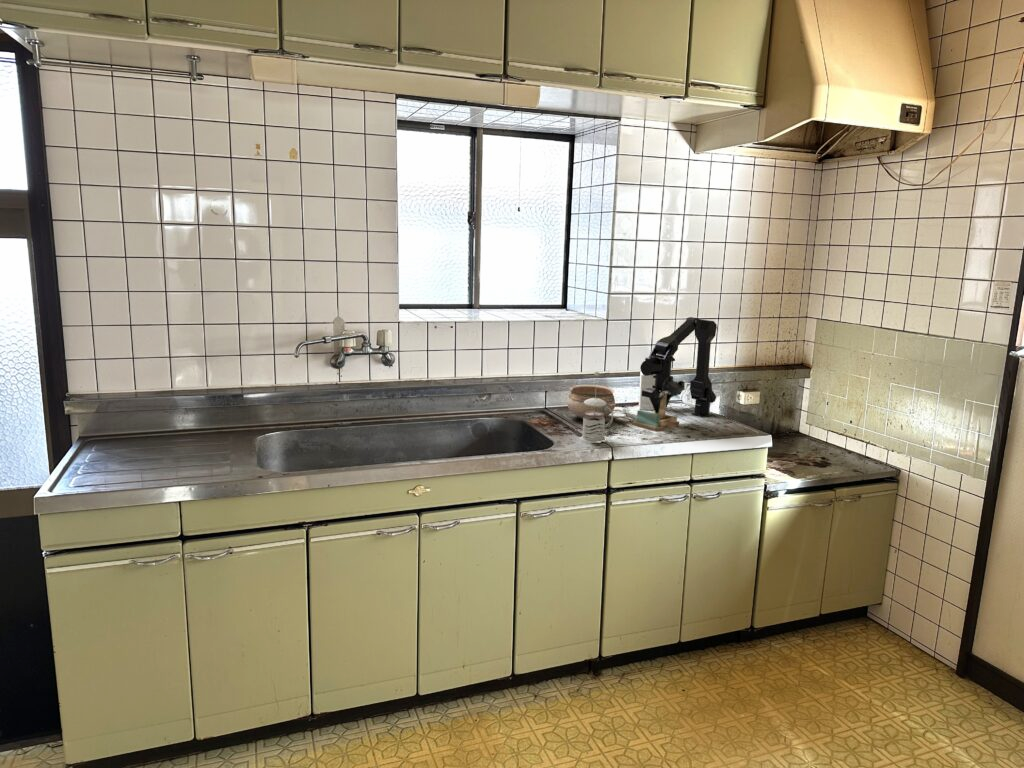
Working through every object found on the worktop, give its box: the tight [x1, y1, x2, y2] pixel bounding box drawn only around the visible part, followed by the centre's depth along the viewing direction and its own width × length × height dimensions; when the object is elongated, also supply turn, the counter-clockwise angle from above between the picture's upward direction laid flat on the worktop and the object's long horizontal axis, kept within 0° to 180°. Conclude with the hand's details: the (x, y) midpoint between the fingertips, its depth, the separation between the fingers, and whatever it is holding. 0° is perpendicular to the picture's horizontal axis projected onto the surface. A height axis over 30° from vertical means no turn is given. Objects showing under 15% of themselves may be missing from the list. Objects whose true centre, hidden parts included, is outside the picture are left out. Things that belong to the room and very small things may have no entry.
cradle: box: [631, 409, 680, 432], centre depth 278 cm, size 16×11×6 cm
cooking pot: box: [566, 384, 617, 421], centre depth 282 cm, size 25×19×12 cm
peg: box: [654, 394, 667, 420], centre depth 278 cm, size 4×4×10 cm
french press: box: [579, 371, 614, 442], centre depth 253 cm, size 10×12×25 cm
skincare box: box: [638, 371, 655, 411], centre depth 302 cm, size 8×7×16 cm
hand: (660, 412), depth 279 cm, fingers closed on peg, 4 cm apart
